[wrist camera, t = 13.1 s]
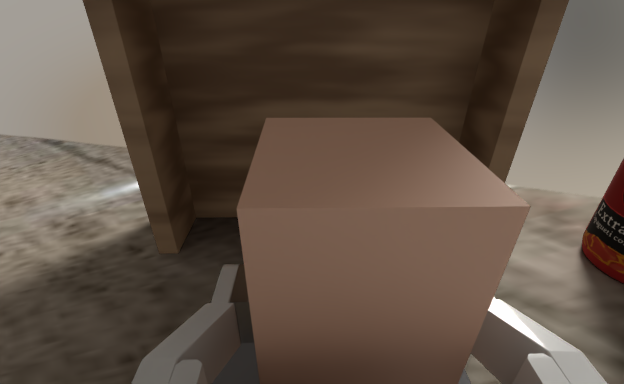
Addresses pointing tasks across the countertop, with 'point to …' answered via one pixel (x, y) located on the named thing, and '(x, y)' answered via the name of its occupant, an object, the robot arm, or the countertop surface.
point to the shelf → (306, 82)
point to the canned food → (608, 230)
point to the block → (370, 250)
